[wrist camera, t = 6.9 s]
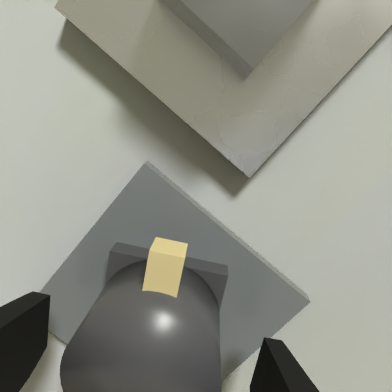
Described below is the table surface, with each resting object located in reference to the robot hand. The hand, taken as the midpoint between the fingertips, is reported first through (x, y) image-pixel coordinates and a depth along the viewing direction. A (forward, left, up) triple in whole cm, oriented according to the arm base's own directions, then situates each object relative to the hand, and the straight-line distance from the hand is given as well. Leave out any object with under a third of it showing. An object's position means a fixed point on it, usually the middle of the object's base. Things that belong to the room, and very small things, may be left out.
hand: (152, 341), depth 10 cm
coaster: (0, 0, -2) cm, 2 cm away
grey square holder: (+5, -10, -2) cm, 11 cm away
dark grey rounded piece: (0, 0, -2) cm, 2 cm away
